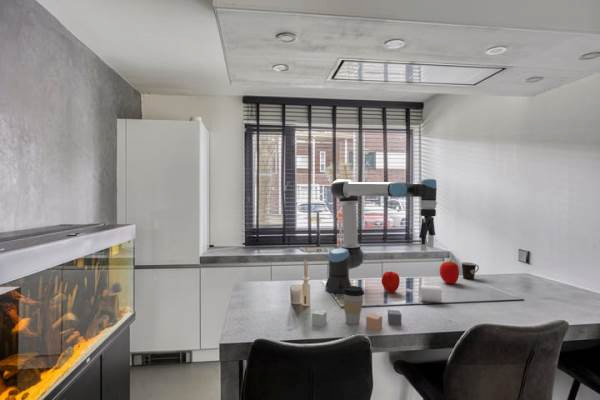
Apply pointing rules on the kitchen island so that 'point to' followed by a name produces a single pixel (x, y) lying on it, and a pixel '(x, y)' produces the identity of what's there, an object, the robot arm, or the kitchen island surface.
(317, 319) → the sage cube
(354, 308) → the coffee cup
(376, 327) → the terracotta cube
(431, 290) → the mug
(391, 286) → the red rounded piece
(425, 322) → the kitchen island surface
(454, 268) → the red strawberry
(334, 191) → the robot arm
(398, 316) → the charcoal cube
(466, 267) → the coffee mug
